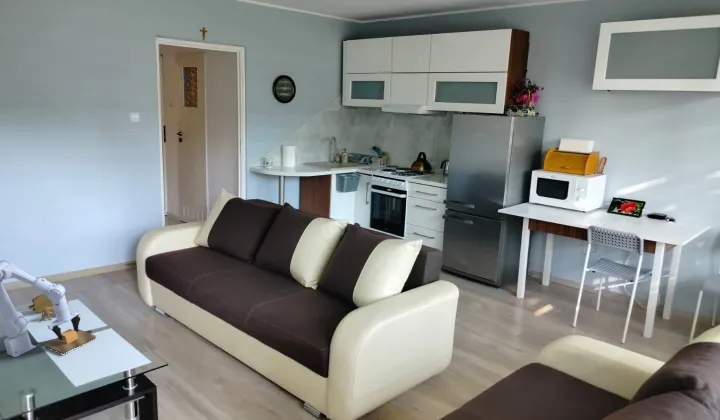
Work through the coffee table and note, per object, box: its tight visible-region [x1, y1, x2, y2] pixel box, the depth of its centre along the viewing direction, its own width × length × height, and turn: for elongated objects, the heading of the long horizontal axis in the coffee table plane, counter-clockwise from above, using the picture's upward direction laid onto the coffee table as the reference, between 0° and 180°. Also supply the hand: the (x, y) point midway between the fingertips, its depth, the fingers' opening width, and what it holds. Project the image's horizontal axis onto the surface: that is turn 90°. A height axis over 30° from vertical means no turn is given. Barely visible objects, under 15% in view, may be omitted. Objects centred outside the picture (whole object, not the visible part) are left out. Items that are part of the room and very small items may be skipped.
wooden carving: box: [28, 293, 53, 313], centre depth 281 cm, size 16×5×10 cm, turn 141°
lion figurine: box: [39, 297, 69, 322], centre depth 272 cm, size 15×5×9 cm, turn 133°
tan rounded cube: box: [61, 328, 78, 344], centre depth 245 cm, size 5×5×4 cm
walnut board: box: [44, 328, 97, 354], centre depth 246 cm, size 16×16×4 cm
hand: (68, 335), depth 245 cm, fingers open, 7 cm apart
